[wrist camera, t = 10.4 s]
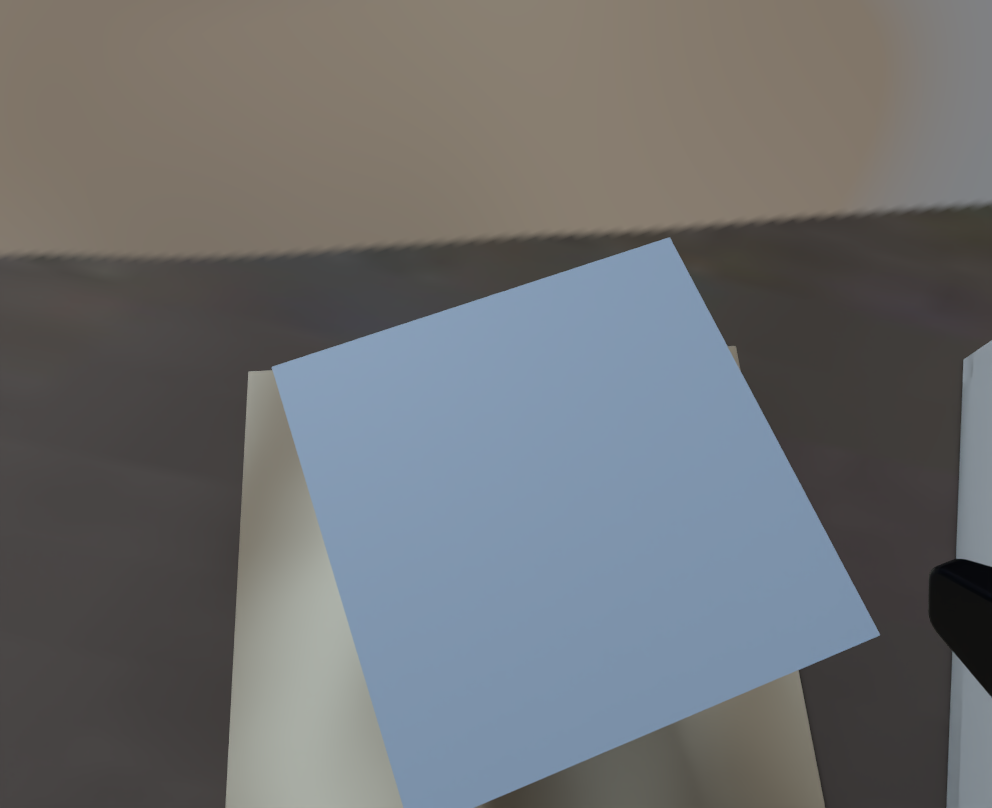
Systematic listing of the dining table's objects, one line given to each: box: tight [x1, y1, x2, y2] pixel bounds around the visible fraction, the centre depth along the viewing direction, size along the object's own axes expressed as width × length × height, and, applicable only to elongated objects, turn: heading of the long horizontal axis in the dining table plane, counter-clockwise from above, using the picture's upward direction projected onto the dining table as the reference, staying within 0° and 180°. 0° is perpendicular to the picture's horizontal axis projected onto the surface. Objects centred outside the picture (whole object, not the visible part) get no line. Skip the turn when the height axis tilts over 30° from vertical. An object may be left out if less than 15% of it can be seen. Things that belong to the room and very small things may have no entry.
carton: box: [272, 237, 880, 808], centre depth 14 cm, size 5×5×12 cm
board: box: [226, 346, 825, 808], centre depth 20 cm, size 14×14×1 cm
